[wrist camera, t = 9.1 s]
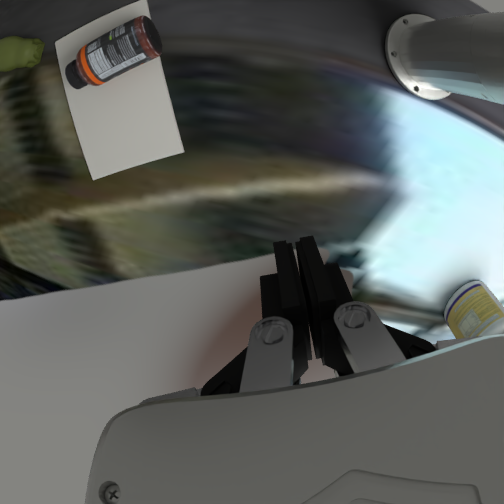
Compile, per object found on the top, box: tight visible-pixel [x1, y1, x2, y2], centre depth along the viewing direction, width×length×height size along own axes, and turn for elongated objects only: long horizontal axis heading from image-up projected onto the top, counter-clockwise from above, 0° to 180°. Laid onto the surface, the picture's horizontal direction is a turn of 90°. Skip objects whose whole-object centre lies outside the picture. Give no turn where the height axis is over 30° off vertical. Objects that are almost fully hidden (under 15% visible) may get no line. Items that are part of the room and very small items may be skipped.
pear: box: [0, 36, 45, 72], centre depth 24 cm, size 6×5×10 cm
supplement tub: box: [444, 281, 504, 339], centre depth 44 cm, size 12×12×17 cm
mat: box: [55, 0, 184, 180], centre depth 31 cm, size 14×22×1 cm, turn 11°
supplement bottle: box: [65, 15, 162, 89], centre depth 26 cm, size 6×6×11 cm
